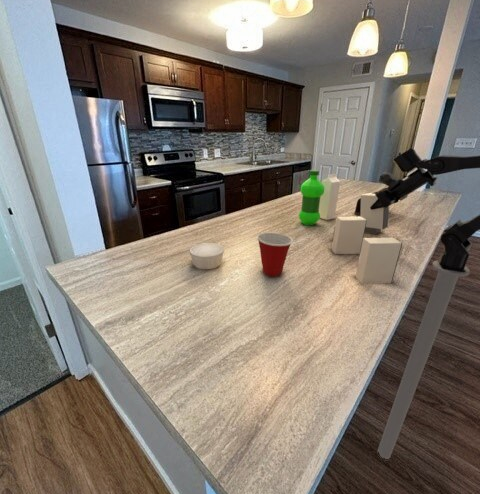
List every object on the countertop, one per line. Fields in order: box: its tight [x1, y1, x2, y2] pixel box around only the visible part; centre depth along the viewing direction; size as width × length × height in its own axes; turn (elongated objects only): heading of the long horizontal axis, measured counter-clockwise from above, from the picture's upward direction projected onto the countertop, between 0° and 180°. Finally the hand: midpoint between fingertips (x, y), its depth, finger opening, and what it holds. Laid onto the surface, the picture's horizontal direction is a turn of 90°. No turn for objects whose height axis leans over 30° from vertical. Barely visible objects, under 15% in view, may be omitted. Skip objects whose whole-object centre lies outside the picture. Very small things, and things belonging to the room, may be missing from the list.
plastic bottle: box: [298, 169, 324, 226], centre depth 122 cm, size 10×10×25 cm
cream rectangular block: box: [359, 192, 390, 230], centre depth 104 cm, size 9×4×13 cm, turn 39°
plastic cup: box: [256, 231, 294, 277], centre depth 81 cm, size 11×11×12 cm
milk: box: [319, 173, 341, 221], centre depth 131 cm, size 6×6×22 cm
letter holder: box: [354, 187, 388, 216], centre depth 141 cm, size 10×20×14 cm, turn 132°
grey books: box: [332, 215, 382, 242], centre depth 111 cm, size 9×26×6 cm, turn 133°
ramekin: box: [189, 242, 225, 270], centre depth 87 cm, size 11×11×5 cm
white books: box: [331, 216, 403, 285], centre depth 86 cm, size 9×24×13 cm, turn 3°
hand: (373, 207), depth 104 cm, fingers closed on cream rectangular block, 4 cm apart
